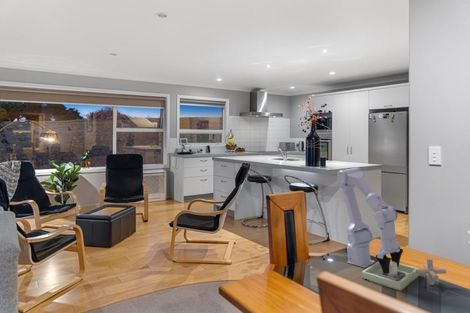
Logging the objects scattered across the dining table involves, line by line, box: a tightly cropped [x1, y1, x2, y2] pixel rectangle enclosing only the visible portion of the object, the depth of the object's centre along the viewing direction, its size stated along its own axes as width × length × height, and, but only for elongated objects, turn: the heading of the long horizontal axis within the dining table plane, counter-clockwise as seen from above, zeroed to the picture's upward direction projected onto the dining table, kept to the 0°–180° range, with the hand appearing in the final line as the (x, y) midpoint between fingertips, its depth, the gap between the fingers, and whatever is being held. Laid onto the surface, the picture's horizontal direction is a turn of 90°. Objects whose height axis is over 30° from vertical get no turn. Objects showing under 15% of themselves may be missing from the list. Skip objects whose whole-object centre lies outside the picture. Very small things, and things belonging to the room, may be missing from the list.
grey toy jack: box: [416, 257, 447, 286], centre depth 124 cm, size 10×10×10 cm
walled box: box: [361, 260, 421, 292], centre depth 133 cm, size 16×16×3 cm
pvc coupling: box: [387, 260, 398, 278], centre depth 132 cm, size 4×4×6 cm
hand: (391, 269), depth 132 cm, fingers open, 7 cm apart
